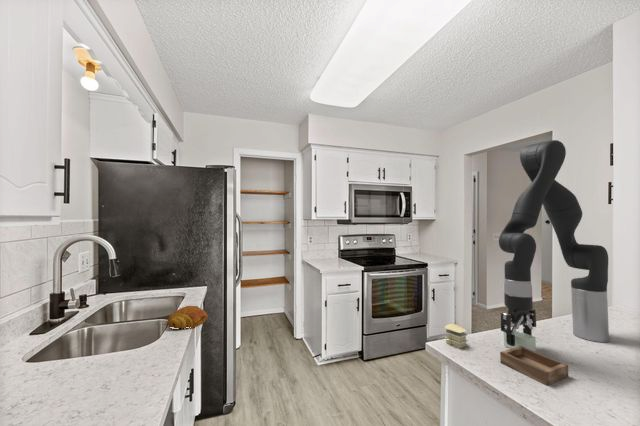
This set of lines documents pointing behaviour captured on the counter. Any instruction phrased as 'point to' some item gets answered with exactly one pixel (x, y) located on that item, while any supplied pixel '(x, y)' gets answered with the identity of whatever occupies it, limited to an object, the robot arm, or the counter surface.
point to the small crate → (522, 341)
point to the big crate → (534, 365)
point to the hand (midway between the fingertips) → (519, 342)
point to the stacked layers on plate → (455, 335)
